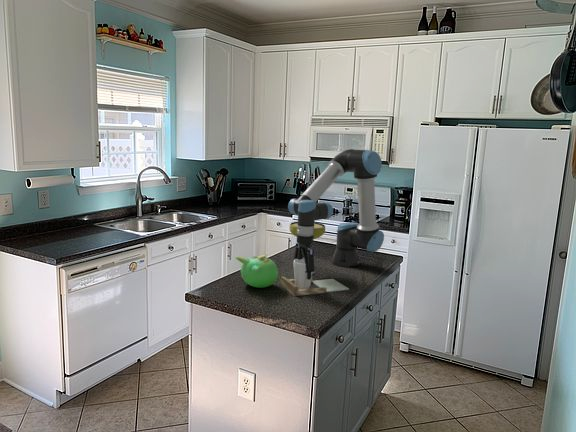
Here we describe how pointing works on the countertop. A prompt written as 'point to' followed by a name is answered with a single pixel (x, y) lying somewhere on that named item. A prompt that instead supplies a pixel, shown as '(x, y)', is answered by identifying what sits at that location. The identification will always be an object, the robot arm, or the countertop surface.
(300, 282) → the foam cup
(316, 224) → the cocktail glass
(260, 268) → the toy bird
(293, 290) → the wooden u-shaped frame
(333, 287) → the pad
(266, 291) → the countertop surface
